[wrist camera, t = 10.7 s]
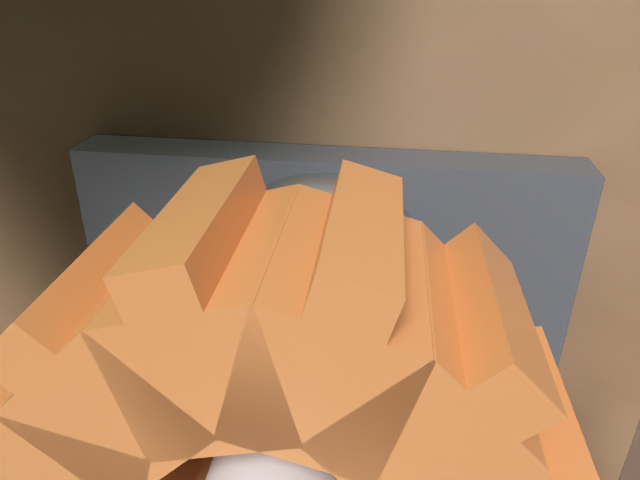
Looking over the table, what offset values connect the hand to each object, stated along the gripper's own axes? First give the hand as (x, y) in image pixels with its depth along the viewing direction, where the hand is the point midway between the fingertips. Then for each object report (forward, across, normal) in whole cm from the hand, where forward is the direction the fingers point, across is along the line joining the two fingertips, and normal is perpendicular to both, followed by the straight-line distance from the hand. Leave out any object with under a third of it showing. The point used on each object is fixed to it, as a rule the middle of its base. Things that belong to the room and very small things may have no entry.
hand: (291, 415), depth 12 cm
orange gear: (+1, 0, 0) cm, 1 cm away
